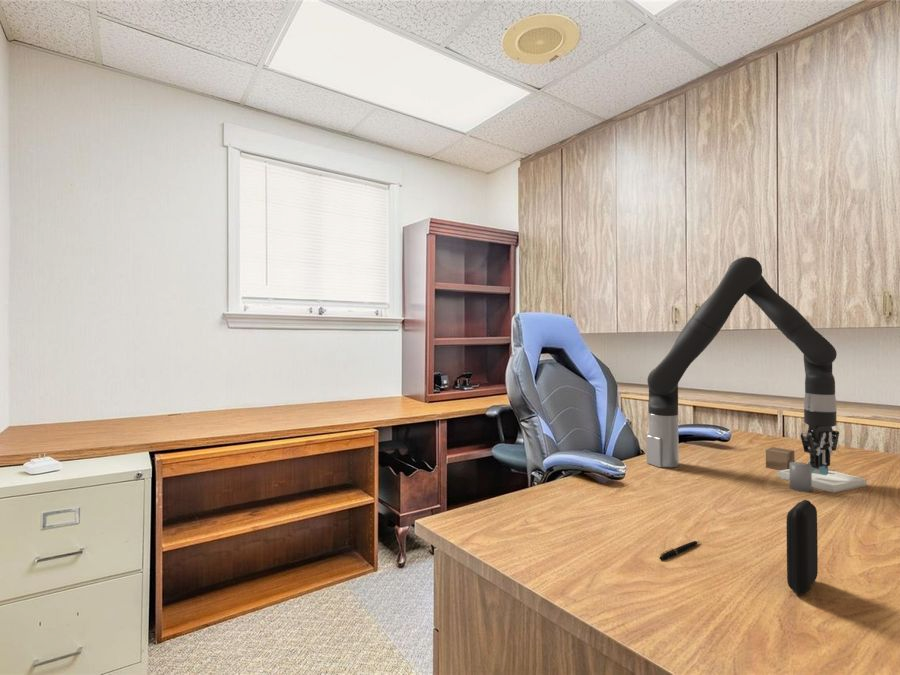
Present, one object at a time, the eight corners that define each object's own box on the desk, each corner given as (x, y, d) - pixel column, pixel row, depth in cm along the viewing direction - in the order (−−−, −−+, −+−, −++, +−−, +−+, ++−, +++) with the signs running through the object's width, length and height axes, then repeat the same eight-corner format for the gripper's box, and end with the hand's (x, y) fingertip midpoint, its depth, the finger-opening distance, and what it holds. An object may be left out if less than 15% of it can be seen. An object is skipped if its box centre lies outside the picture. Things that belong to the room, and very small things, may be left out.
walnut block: (787, 472, 147) (787, 453, 147) (765, 467, 152) (765, 449, 152) (794, 468, 151) (794, 450, 151) (773, 464, 156) (773, 446, 156)
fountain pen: (697, 542, 100) (697, 535, 100) (703, 544, 99) (702, 537, 99) (656, 560, 92) (656, 553, 92) (662, 563, 91) (661, 555, 91)
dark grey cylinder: (803, 492, 128) (803, 467, 128) (785, 487, 133) (785, 463, 133) (815, 490, 130) (815, 465, 130) (797, 485, 135) (797, 461, 135)
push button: (835, 474, 137) (835, 440, 137) (834, 478, 133) (834, 443, 133) (807, 469, 142) (807, 437, 142) (805, 473, 138) (805, 439, 138)
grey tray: (832, 492, 128) (832, 485, 128) (777, 477, 142) (777, 470, 142) (866, 486, 133) (866, 479, 133) (810, 471, 147) (810, 465, 147)
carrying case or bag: (800, 572, 86) (800, 493, 86) (821, 579, 84) (820, 498, 84) (784, 594, 79) (783, 508, 79) (806, 601, 77) (805, 513, 77)
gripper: (821, 405, 143) (822, 460, 143) (790, 408, 138) (790, 465, 138) (849, 409, 136) (850, 467, 136) (817, 412, 131) (818, 472, 131)
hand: (820, 466), depth 137 cm, fingers closed on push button, 4 cm apart
